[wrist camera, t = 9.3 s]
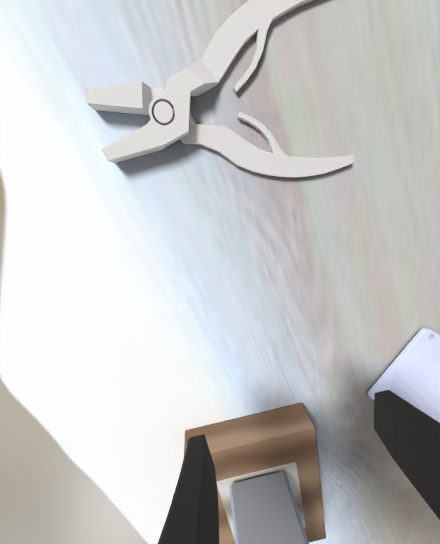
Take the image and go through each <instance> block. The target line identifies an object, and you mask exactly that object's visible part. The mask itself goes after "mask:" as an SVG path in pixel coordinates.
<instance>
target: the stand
mask: <svg viewBox="0 0 440 544" xmlns="http://www.w3.org/2000/svg"><path fill="white" fill-rule="evenodd" d="M203 434H205V437H206V441H207V444H208V447H209V450H210V453H211V456H212V460H213V463H214V466H215V472H216V482H217V492H218V507H219V544H235V535H234V526H233V517H232V508H231V499H230V490H229V485H231V484H233V483H237V482H241V481H245V480H249V479H253V478H257V477H261V476H265V475H269V474H273V473H278V472H282V471H283V472H285V471H286V474H287V477H288V480H289V483H290V487H291V490H292V493H293V496H294V499H295V502H296V505H297V508H298V512H299V515H300V518H301V521H302V524H303V527H304V530H305V533H306V536H307V540H308V543H309V542H313V541H317V540H320V539H324V538H326V533H325V523H324V514H323V504H322V494H321V485H320V475H319V465H318V456H317V446H316V436H315V428H314V426H313V424H312V422H311V420H310V418H309V416H308V414H307V412H306V410H305V408H304V406H303V404H302V403H299V404H294V405H290V406H286V407H282V408H278V409H274V410H269V411H265V412H261V413H257V414H253V415H249V416H245V417H240V418H236V419H232V420H228V421H224V422H220V423H215V424H211V425H207V426H203V427H199V428H195V429H191V430H186V431H185V447H184V456H185V452H186V447H187V442H188V439H189V438H190V437H194V436H199V435H203Z"/></svg>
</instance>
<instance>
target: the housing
mask: <svg viewBox="0 0 440 544" xmlns="http://www.w3.org/2000/svg"><path fill="white" fill-rule="evenodd" d="M229 490H230V499H231V508H232V517H233V526H234V535H235V544H309V543H308V540H307V536H306V533H305V530H304V527H303V524H302V521H301V518H300V515H299V512H298V508H297V505H296V502H295V499H294V496H293V493H292V490H291V487H290V483H289V480H288V477H287V474H286V471H285V472H283V471H282V472H278V473H273V474H269V475H265V476H261V477H257V478H253V479H249V480H245V481H241V482H237V483H233V484H231V485H229Z"/></svg>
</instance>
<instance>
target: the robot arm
mask: <svg viewBox="0 0 440 544" xmlns="http://www.w3.org/2000/svg"><path fill="white" fill-rule="evenodd" d="M368 396H369V397H370V398H371V399H372V400H374V429H375V431H376V432H377V434H378V436H379V437H380V439H381V440H382V442H383V444H384V445H385V447H386V448H387V450H388V452H389V453H390V455H391V456H392V458H393V459H394V460H395V462H396V463H397V464H398V466H399V467H400V468H401V470H402V471H403V472H404V474H405V475H406V476H407V478H408V479H409V480H410V482H411V483H412V484H413V486H414V487H415V488H416V489H417V491H418V492H419V493H420V495H421V496H422V497H423V499H424V500H425V501H426V503H427V504H428V505H429V506H430V508H431V509H432V510H433V512H434V513H435V514H436V516H437V517H438V518H439V520H440V335H439V334H437V333H435V332H433V331H431V330H430V329H428V328H422V329H421V330H419V332H418V333H417V334H416V335H415V336H414V338H413V339H412V340H411V341H410V342H409V343H408V345H407V346H406V347H405V348H404V349H403V351H402V352H401V353H400V354H399V355H398V357H397V358H396V359H395V360H394V361H393V363H392V364H391V365H390V366H389V367H388V369H387V370H386V371H385V372H384V373H383V374H382V376H381V377H380V378H379V379H378V380H377V382H376V383H375V384H374V385H373V386H372V388H371V389H370V390H369V391H368ZM158 544H219V507H218V492H217V482H216V472H215V466H214V463H213V460H212V456H211V453H210V450H209V447H208V444H207V441H206V437H205V434H203V435H199V436H194V437H190V438H189V439H188V442H187V447H186V452H185V456H184V460H183V464H182V468H181V472H180V476H179V479H178V483H177V486H176V490H175V493H174V496H173V500H172V503H171V506H170V509H169V513H168V516H167V519H166V521H165V524H164V527H163V530H162V533H161V536H160V539H159V542H158Z"/></svg>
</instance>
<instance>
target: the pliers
mask: <svg viewBox="0 0 440 544" xmlns="http://www.w3.org/2000/svg"><path fill="white" fill-rule="evenodd" d="M311 1H314V0H249V1H248V2H246V3H245V4H244V5H242V6H241V7H240V8H239V9H238V10H237V11H235V12H234V13H233V14H232V15H231V16H230V17H229V18H228V19H227V20H226V21H225V22H224V23H223V25H222V26H221V27H220V28H219V29H218V30H217V32H216V33H215V34H214V36H213V38H212V40H211V41H210V43H209V45H208V47H207V49H206V51H205V53H204V54H203V56H202V58H201V59H200V60H198V61H196V62H195V63H193V64H191V65H190V66H188V67H186V68H184V69H183V70H181V71H179V72H177V73H175V74H173V75H172V76H170V77H168V79H167V82H166V84H165V87H164V89H162V88H152V87H149V86H148V85H146V84H144V83H143V82H137V83H130V84H123V85H115V86H108V87H101V88H94V89H86V90H85V92H86V102H87V104H88V105H89V106H91V107H92V108H93V109H94V110H97V111H108V112H119V113H130V114H141V115H148V116H150V118H151V120H150V121H149V122H148V123H147V124H146V125H145V126H143V127H141V128H139V129H138V130H136V131H134V132H132V133H131V134H129V135H127V136H125V137H123V138H122V139H120V140H118V141H116V142H115V143H113V144H111V145H109V146H108V147H106V148H104V149H102V151H103V153H104V155H105V156H106V158H107V160H108V161H111V162H113V163H118V162H121V161H125V160H128V159H132V158H136V157H139V156H143V155H146V154H150V153H153V152H157V151H160V150H164V148H165V147H167V146H168V145H170V144H172V143H174V142H176V141H177V140H180V141H181V142H182V143H183V144H194V145H202V146H204V147H207V148H209V149H211V150H214V151H216V152H218V153H220V154H221V155H223V156H224V157H225V158H227V159H228V160H229V161H231V162H232V163H234V164H235V165H237V166H239V167H241V168H244V169H246V170H248V171H251V172H255V173H259V174H263V175H268V176H275V177H290V178H295V177H307V176H313V175H319V174H324V173H327V172H330V171H334V170H337V169H340V168H342V167H345V166H347V165H349V164H352V163H353V155H349V156H341V157H327V158H302V157H292V156H287V155H286V154H285V153H284V152H283V151H282V150H281V149H280V147H279V145H278V143H277V142H276V140H275V138H274V136H273V135H272V134H271V133H270V132H269V131H268V129H267V128H266V127H265V126H264V125H263V124H261V123H260V122H258V121H257V120H255V119H254V118H252V117H250V116H248V115H246V114H243V113H241V112H239V114H238V119H240V120H242V121H244V122H246V123H248V124H250V125H251V126H253V127H254V128H256V129H257V130H258V131H259V132H260V133H261V134H262V135H263V137H264V138H265V139H266V140H267V142H268V145H269V148H270V151H271V153H270V152H267V151H264V150H261V149H259V148H257V147H256V146H254V145H252V144H251V143H249V142H248V141H246V140H245V139H243V138H242V137H240V136H239V135H237V134H236V133H235V132H233V131H232V130H230V129H229V128H227V127H223V126H212V125H201V124H196V123H195V121H194V119H193V117H192V115H191V113H190V98H191V97H192V96H199V95H201V94H202V93H204V92H206V91H208V90H210V89H211V88H213V87H215V86H217V85H218V84H219V82H220V81H221V79H222V77H223V76H224V74H225V73H226V71H227V69H228V68H229V66H230V65H231V63H232V61H233V60H234V58H235V57H236V56H237V54H238V53H239V51H240V50H241V48H242V47H243V45H244V44H245V43H246V42H247V41H248V40H250V39H251V38H252V37H253V36H254V35H255V34H256V33H257V36H256V52H255V55H254V58H253V61H252V63H251V66H250V67H249V69H248V70H247V71H246V73H245V74H244V76H243V77H242V78H241V79H240V81H239V82H238V83H237V84H236V85H235V86H234V88H233V91H234V92H235V94H236V93H237V92H238V91H239V89H240V88H241V87H242V86H243V85H244V84H245V83H246V82H247V80H248V79H249V77H250V76H251V75H252V73H253V72H254V70H255V68H256V66H257V64H258V61H259V59H260V56H261V54H262V52H263V48H264V44H265V39H266V34H267V30H268V28H269V26H270V23H271V22H273V21H275V20H276V19H278V18H280V17H281V16H283V15H285V14H286V13H288V12H290V11H292V10H294V9H295V8H297V7H299V6H302V5H304V4H306V3H309V2H311Z"/></svg>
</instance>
